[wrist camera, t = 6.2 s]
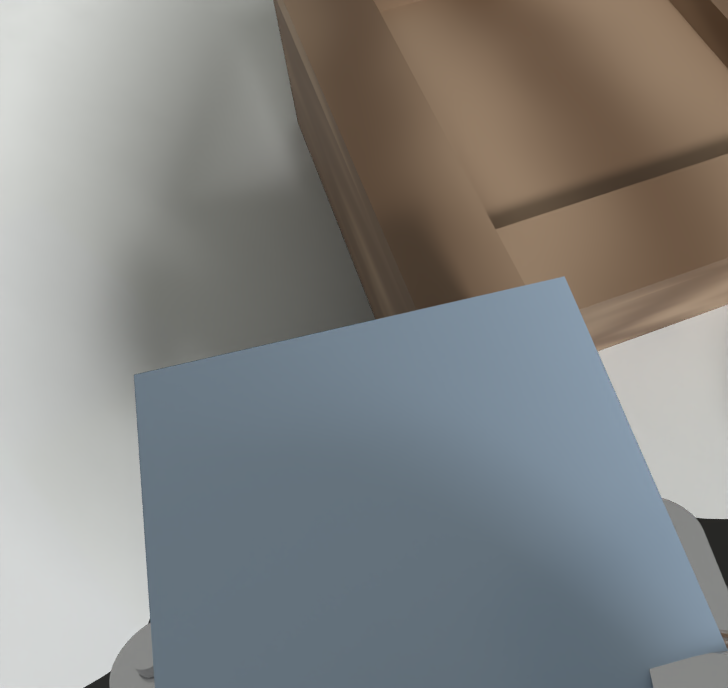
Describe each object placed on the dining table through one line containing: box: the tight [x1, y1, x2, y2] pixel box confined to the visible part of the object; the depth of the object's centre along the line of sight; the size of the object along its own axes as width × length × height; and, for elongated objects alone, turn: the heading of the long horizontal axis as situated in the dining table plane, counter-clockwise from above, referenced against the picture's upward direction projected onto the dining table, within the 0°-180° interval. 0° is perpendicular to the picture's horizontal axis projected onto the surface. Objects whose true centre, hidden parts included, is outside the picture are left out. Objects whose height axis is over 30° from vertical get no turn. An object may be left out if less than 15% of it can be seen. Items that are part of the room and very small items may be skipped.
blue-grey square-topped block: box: [134, 276, 728, 688], centre depth 10 cm, size 6×6×10 cm
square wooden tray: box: [273, 0, 728, 351], centre depth 16 cm, size 14×14×7 cm
